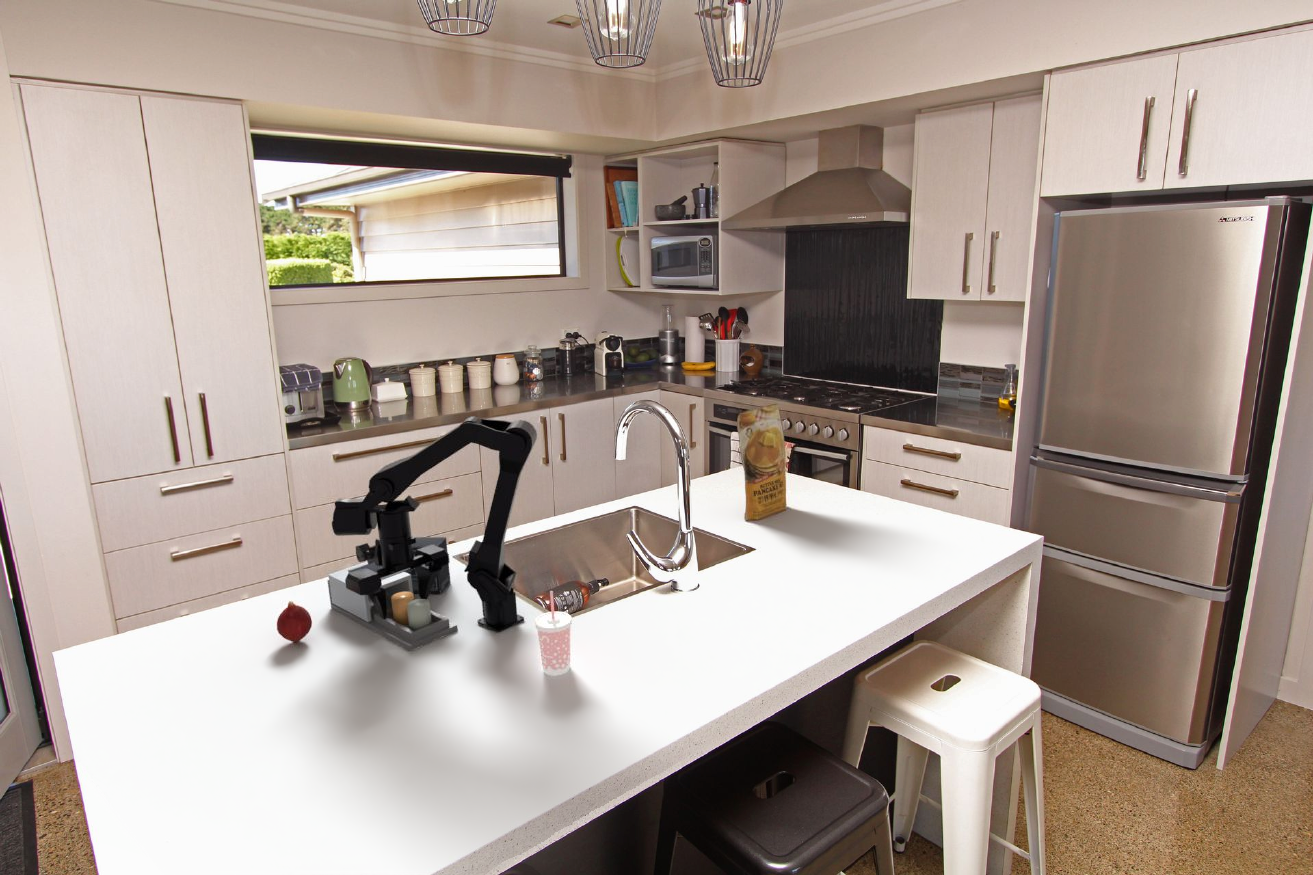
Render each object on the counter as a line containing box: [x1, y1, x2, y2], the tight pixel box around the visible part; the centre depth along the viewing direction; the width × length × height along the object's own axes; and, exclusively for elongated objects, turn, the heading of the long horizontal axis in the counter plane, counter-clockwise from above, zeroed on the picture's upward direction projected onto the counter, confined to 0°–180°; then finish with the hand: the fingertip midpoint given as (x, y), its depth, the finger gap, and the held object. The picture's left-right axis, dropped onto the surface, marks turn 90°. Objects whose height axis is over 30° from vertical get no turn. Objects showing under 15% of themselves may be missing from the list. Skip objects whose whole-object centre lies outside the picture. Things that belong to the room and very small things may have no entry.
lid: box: [327, 561, 413, 622], centre depth 156 cm, size 14×10×8 cm
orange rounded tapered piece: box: [391, 592, 415, 625], centre depth 149 cm, size 4×4×5 cm
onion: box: [276, 600, 313, 643], centre depth 144 cm, size 6×6×8 cm
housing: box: [327, 579, 459, 652], centre depth 152 cm, size 28×10×6 cm, turn 50°
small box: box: [405, 536, 452, 595], centre depth 166 cm, size 11×6×10 cm, turn 84°
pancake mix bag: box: [736, 403, 787, 521], centre depth 204 cm, size 7×19×28 cm, turn 132°
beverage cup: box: [534, 590, 573, 676], centre depth 132 cm, size 6×6×14 cm
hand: (403, 610), depth 150 cm, fingers open, 8 cm apart
